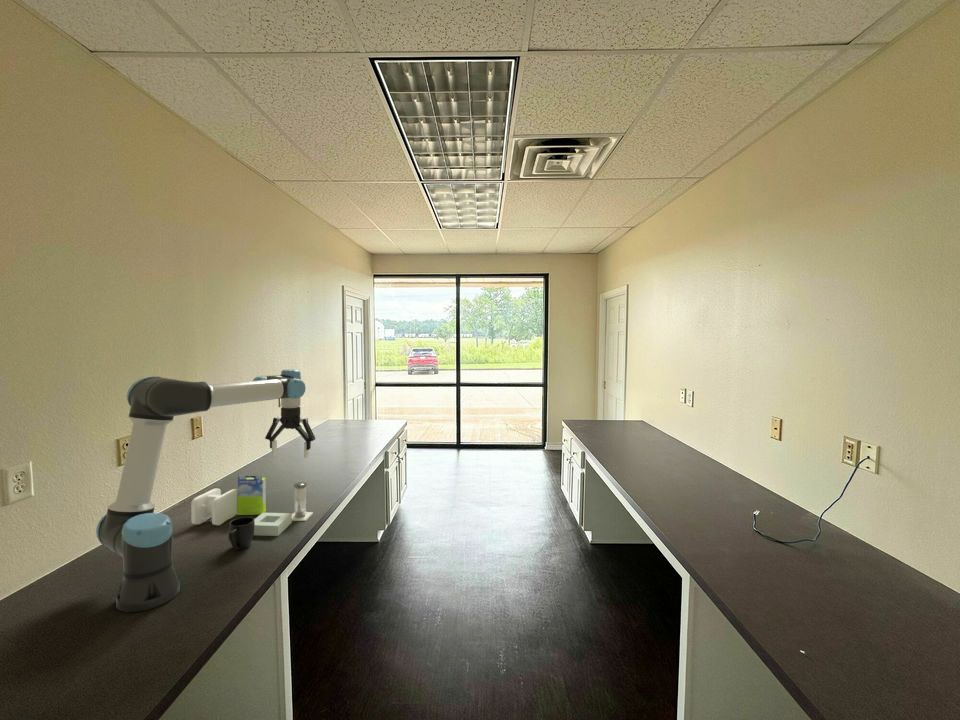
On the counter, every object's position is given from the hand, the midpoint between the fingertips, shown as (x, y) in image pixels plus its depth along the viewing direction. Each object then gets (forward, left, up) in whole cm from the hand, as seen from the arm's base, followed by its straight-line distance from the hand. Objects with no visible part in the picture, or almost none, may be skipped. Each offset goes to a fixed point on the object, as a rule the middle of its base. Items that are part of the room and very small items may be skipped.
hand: (290, 456), depth 186 cm
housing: (-10, +4, -27) cm, 29 cm away
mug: (-27, +7, -27) cm, 39 cm away
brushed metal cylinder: (+2, -3, -26) cm, 26 cm away
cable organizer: (-4, +30, -27) cm, 40 cm away
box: (+4, +19, -27) cm, 33 cm away
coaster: (+2, -3, -27) cm, 27 cm away
